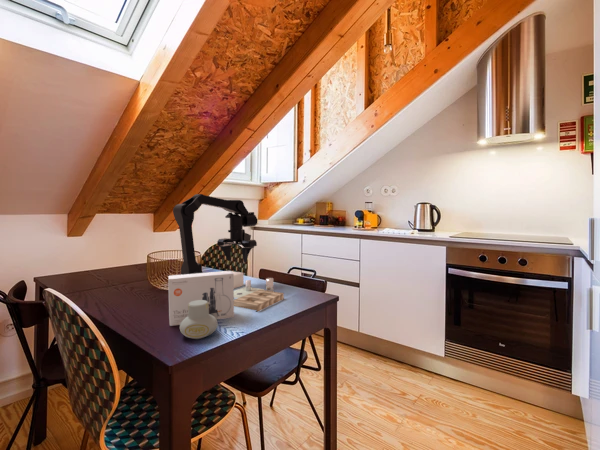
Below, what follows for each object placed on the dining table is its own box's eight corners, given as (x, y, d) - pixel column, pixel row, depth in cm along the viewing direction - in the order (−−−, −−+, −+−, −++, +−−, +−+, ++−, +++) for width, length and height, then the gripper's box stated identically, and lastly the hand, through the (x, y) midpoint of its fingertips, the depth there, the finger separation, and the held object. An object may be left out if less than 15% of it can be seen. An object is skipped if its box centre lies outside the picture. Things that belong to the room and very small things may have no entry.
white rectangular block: (226, 292, 145) (226, 277, 144) (214, 290, 148) (214, 276, 148) (243, 286, 155) (243, 272, 155) (232, 284, 159) (232, 271, 158)
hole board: (257, 311, 118) (257, 305, 118) (232, 307, 124) (231, 300, 123) (283, 299, 133) (283, 293, 133) (260, 295, 139) (260, 289, 139)
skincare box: (169, 327, 104) (167, 278, 103) (169, 321, 109) (167, 275, 108) (235, 317, 112) (233, 272, 111) (231, 312, 117) (230, 269, 116)
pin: (270, 295, 138) (270, 279, 138) (264, 295, 140) (264, 279, 139) (274, 294, 141) (274, 278, 141) (268, 293, 143) (268, 277, 142)
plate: (242, 300, 133) (241, 287, 132) (222, 296, 138) (221, 284, 138) (264, 290, 147) (264, 279, 146) (245, 287, 152) (245, 277, 152)
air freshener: (177, 342, 93) (176, 308, 92) (183, 331, 101) (182, 299, 100) (216, 339, 94) (215, 305, 94) (219, 328, 102) (218, 297, 102)
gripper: (263, 226, 150) (263, 259, 151) (231, 225, 159) (232, 257, 160) (248, 228, 140) (249, 264, 142) (216, 227, 149) (217, 260, 150)
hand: (237, 261), depth 149 cm, fingers open, 9 cm apart
